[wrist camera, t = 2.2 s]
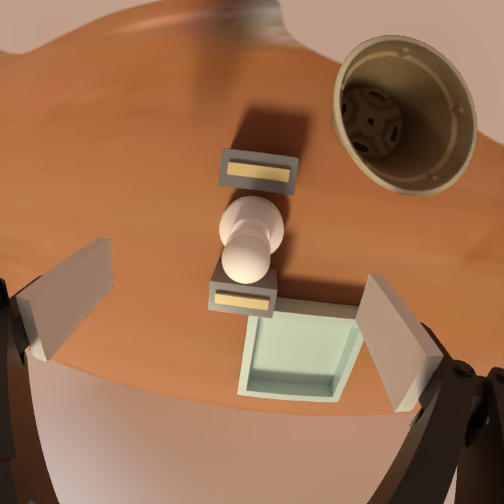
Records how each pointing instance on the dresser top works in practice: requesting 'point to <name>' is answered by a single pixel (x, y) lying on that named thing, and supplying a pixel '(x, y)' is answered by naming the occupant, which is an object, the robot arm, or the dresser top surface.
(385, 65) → the flower pot
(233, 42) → the dresser top surface
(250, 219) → the chess pawn
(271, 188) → the fuse holder
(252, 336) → the tray
